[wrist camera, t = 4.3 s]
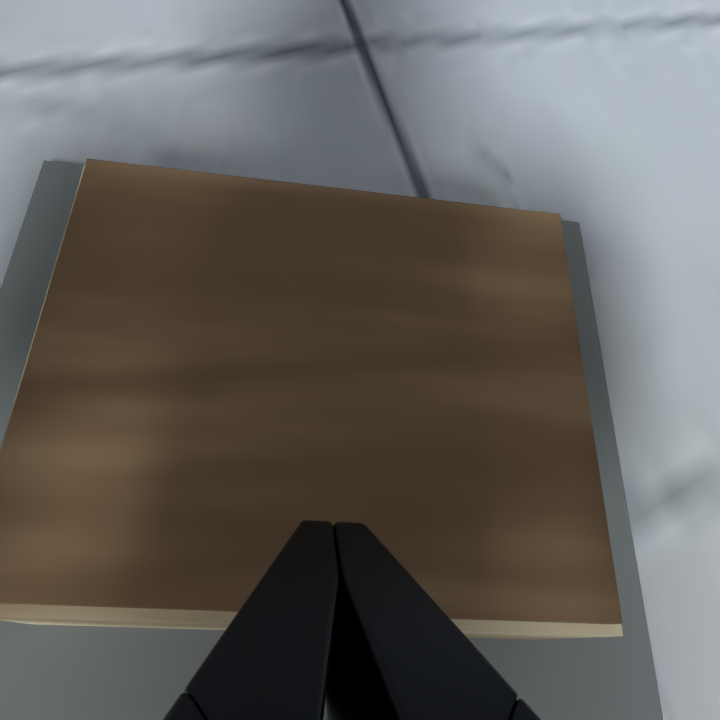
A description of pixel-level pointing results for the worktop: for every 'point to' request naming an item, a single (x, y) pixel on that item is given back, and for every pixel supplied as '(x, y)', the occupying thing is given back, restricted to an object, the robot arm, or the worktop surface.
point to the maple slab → (301, 406)
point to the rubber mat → (191, 646)
